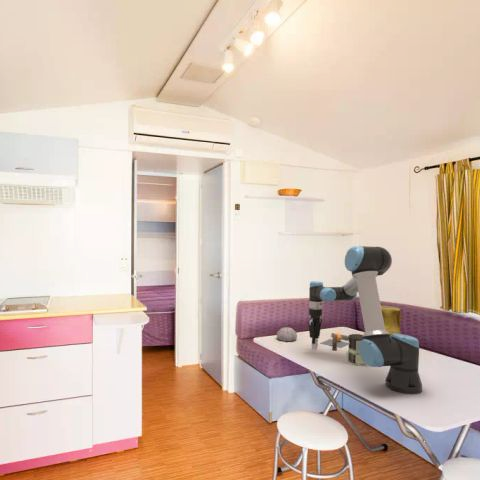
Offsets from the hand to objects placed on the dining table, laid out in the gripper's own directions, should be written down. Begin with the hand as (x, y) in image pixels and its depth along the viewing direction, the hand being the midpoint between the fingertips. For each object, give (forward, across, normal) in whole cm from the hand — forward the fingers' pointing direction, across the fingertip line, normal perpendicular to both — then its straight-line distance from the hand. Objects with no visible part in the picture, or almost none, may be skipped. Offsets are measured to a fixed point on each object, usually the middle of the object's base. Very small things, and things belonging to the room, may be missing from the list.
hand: (314, 349), depth 223 cm
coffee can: (+2, 0, -26) cm, 26 cm away
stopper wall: (+2, +41, 0) cm, 41 cm away
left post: (+2, +13, +6) cm, 15 cm away
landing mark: (+2, +27, 0) cm, 27 cm away
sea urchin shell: (+2, +13, +27) cm, 30 cm away
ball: (-1, +32, +1) cm, 32 cm away
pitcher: (+2, +43, -27) cm, 51 cm away
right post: (+2, +13, -6) cm, 15 cm away
